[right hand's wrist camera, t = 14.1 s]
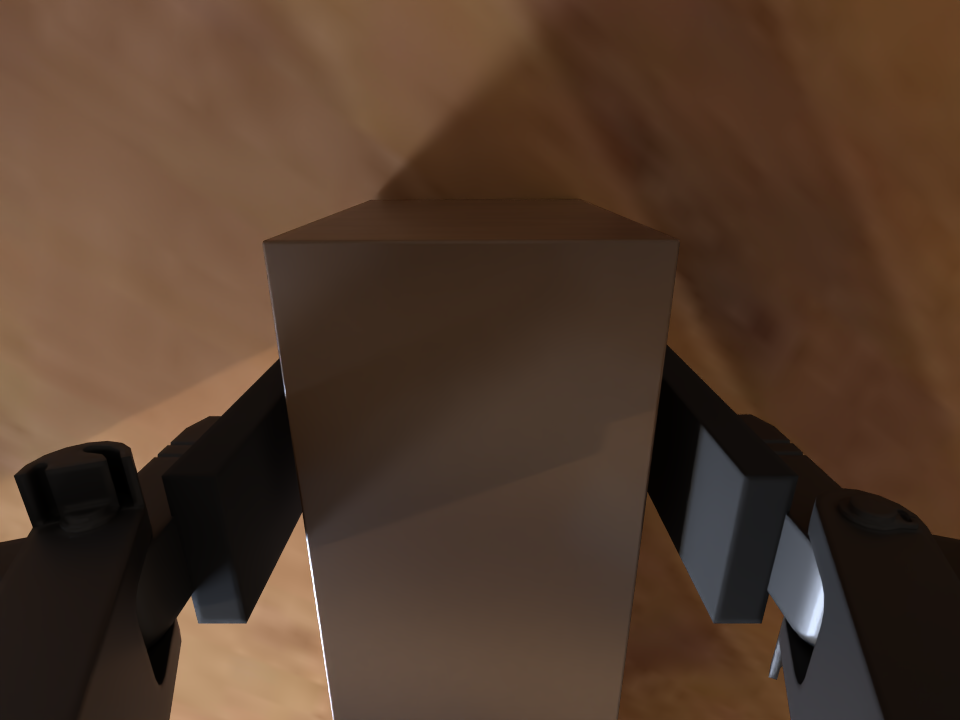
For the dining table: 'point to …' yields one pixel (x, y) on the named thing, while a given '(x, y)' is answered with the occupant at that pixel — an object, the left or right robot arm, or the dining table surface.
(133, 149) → the dining table surface
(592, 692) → the post
